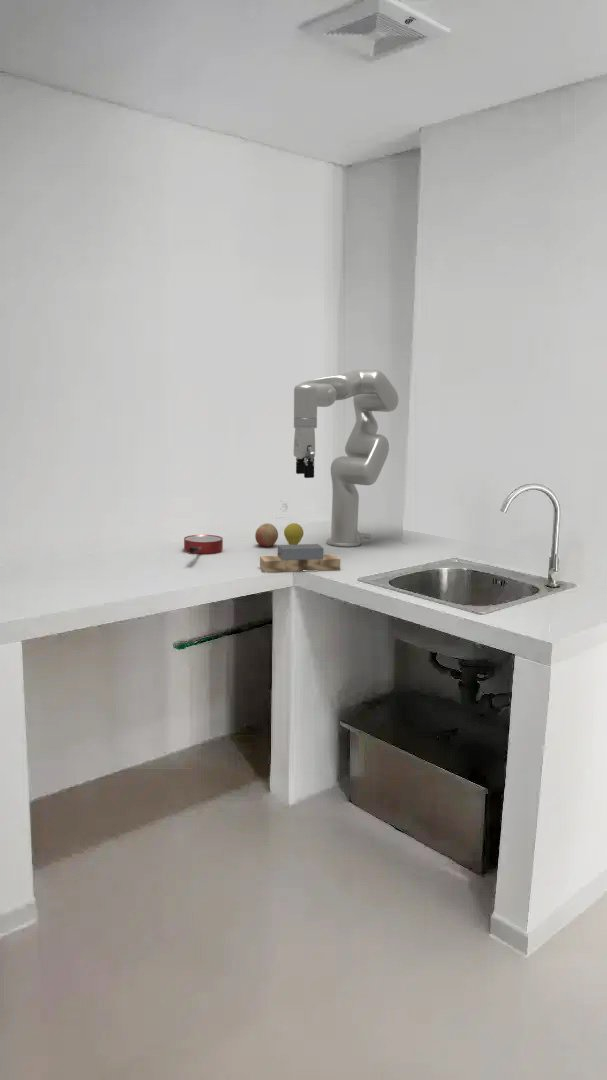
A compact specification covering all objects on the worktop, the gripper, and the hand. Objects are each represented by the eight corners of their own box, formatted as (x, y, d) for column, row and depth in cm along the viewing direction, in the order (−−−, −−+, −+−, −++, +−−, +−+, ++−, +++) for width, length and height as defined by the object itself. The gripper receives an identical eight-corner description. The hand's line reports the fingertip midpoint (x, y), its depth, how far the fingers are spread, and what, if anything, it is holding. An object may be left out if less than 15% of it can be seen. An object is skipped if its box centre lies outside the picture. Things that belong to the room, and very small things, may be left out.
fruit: (250, 545, 281) (251, 523, 280) (270, 543, 286) (270, 521, 284) (262, 549, 275) (262, 526, 273) (282, 547, 279) (282, 525, 278)
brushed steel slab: (317, 564, 252) (317, 544, 251) (322, 568, 246) (323, 548, 245) (277, 565, 249) (277, 545, 248) (282, 570, 243) (282, 549, 242)
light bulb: (303, 550, 275) (304, 522, 273) (301, 554, 268) (302, 525, 266) (284, 549, 275) (285, 521, 273) (282, 553, 269) (283, 524, 267)
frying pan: (220, 568, 246) (220, 548, 244) (178, 567, 245) (178, 547, 243) (223, 547, 277) (223, 529, 276) (185, 546, 276) (185, 528, 275)
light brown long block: (333, 564, 254) (333, 554, 253) (340, 570, 247) (340, 559, 246) (259, 567, 248) (260, 556, 247) (264, 572, 241) (264, 561, 240)
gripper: (287, 421, 265) (287, 472, 269) (301, 425, 249) (301, 479, 252) (308, 421, 267) (308, 471, 271) (324, 425, 251) (323, 479, 254)
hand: (304, 475), depth 261 cm, fingers open, 9 cm apart
